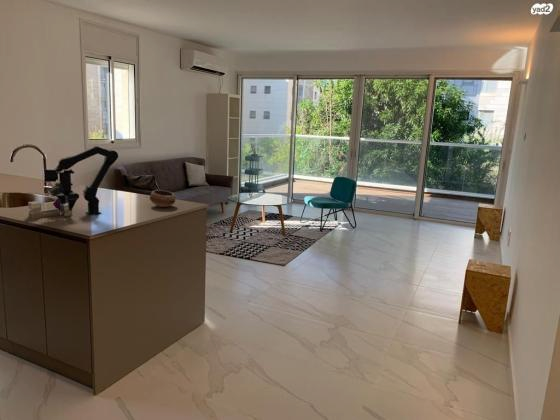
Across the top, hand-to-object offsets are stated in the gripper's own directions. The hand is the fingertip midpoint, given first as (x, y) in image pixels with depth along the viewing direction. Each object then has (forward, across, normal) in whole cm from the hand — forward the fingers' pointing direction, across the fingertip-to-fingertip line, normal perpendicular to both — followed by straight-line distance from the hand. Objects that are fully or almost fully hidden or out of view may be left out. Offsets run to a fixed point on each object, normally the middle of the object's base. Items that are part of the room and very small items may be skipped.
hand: (66, 209), depth 245 cm
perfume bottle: (+4, -17, +5) cm, 18 cm away
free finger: (+3, 0, 0) cm, 3 cm away
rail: (+3, -4, -10) cm, 11 cm away
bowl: (+4, +11, +56) cm, 57 cm away
